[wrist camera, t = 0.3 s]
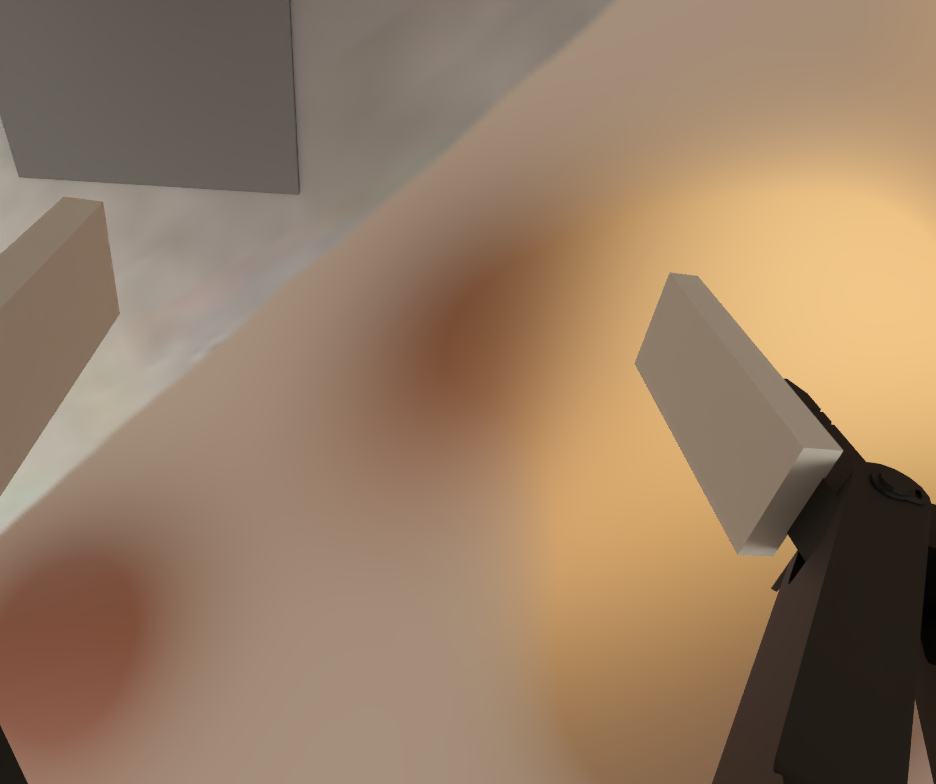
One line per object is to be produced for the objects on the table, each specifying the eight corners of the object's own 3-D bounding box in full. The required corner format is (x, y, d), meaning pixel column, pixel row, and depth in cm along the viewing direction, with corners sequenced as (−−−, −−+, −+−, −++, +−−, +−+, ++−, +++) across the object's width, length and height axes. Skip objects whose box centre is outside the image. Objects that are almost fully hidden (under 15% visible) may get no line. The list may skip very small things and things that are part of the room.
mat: (-66, -125, 31) (-71, -125, 30) (285, -83, 33) (284, -83, 33) (22, 175, 39) (19, 177, 39) (299, 192, 41) (298, 194, 41)
